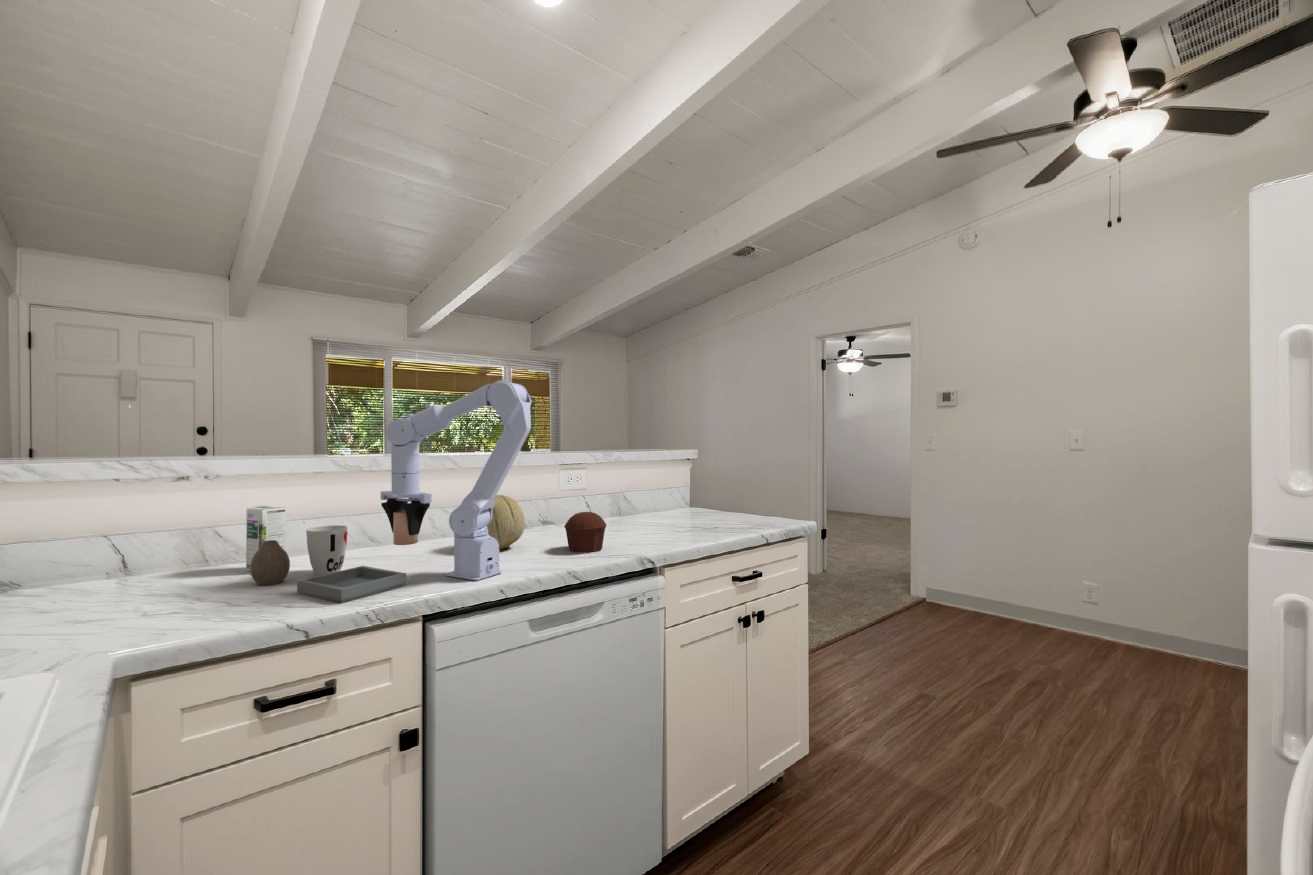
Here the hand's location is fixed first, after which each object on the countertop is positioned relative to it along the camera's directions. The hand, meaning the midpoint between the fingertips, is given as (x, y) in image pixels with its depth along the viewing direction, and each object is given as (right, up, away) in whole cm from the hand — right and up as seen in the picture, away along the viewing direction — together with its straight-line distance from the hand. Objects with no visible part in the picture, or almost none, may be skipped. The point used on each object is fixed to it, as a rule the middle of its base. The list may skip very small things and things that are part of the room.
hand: (405, 533), depth 128 cm
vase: (-25, -9, -8) cm, 28 cm away
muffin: (+37, -9, +26) cm, 46 cm away
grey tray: (-5, -9, -13) cm, 17 cm away
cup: (-18, -9, 0) cm, 20 cm away
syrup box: (-33, -9, +3) cm, 35 cm away
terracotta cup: (0, -2, 0) cm, 2 cm away
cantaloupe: (+13, -9, +27) cm, 31 cm away
